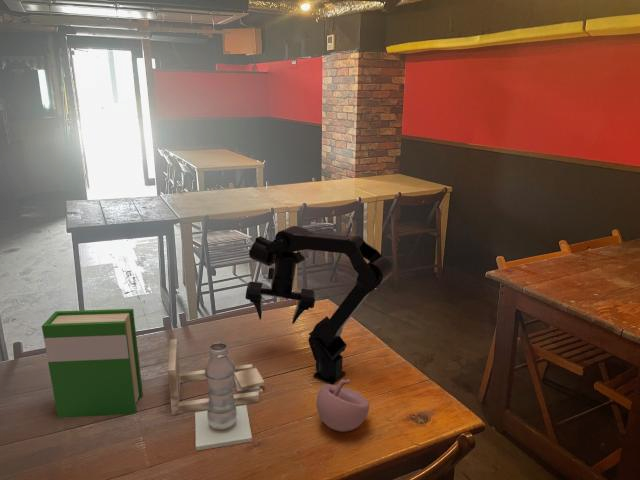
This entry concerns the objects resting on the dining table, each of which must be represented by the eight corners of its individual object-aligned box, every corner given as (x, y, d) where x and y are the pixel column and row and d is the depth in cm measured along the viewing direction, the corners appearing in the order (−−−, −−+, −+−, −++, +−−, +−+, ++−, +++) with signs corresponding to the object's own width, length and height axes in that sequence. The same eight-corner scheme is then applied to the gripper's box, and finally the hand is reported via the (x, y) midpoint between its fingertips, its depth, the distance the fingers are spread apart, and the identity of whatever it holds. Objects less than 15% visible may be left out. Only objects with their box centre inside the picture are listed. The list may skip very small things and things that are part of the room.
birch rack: (252, 369, 135) (250, 330, 132) (259, 402, 121) (257, 359, 118) (174, 379, 130) (170, 339, 127) (171, 414, 116) (167, 370, 113)
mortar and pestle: (378, 425, 113) (381, 383, 110) (343, 451, 105) (344, 405, 102) (341, 402, 121) (342, 362, 118) (305, 424, 113) (305, 381, 110)
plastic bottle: (214, 413, 115) (209, 337, 109) (241, 417, 114) (238, 341, 108) (202, 431, 109) (197, 352, 103) (231, 436, 108) (227, 356, 102)
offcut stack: (259, 376, 133) (259, 367, 132) (265, 393, 125) (265, 383, 125) (234, 380, 131) (233, 370, 130) (238, 398, 123) (237, 387, 123)
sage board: (246, 408, 119) (246, 405, 119) (252, 441, 108) (251, 437, 108) (195, 415, 116) (195, 412, 116) (196, 450, 105) (195, 446, 105)
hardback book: (143, 395, 124) (133, 308, 116) (135, 413, 117) (124, 322, 109) (70, 398, 122) (55, 311, 115) (58, 418, 115) (41, 326, 108)
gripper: (318, 263, 140) (309, 310, 146) (252, 254, 138) (246, 302, 144) (318, 281, 129) (309, 331, 135) (248, 272, 128) (242, 322, 134)
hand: (276, 320), depth 137 cm, fingers open, 9 cm apart
